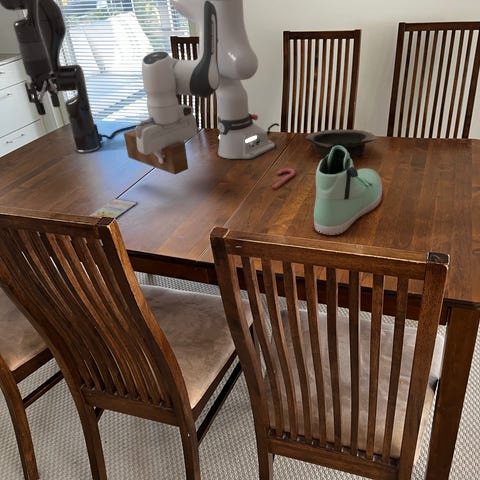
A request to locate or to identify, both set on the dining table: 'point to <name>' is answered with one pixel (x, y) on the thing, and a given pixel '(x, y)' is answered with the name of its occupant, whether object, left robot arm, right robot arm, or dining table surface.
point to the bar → (172, 153)
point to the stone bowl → (340, 141)
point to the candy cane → (284, 177)
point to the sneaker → (343, 192)
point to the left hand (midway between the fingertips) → (49, 110)
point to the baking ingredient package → (113, 208)
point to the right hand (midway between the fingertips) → (171, 158)
